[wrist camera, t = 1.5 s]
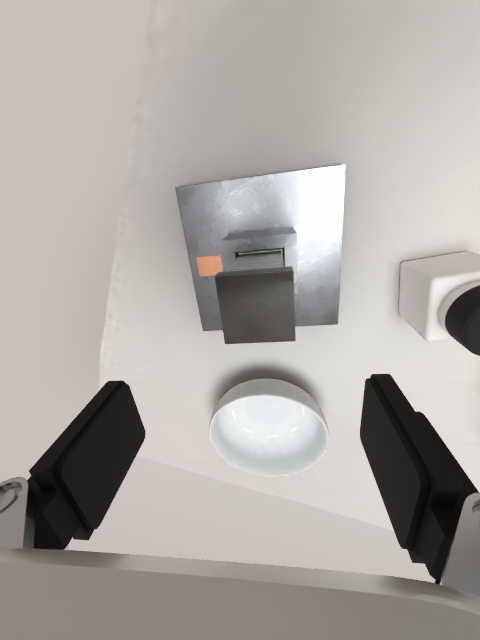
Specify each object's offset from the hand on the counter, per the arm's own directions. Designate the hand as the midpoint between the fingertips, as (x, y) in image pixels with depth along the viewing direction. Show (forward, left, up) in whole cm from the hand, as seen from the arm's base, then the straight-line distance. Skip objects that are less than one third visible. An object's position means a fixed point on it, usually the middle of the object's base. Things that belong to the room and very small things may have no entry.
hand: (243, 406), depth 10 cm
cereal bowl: (+24, -1, -26) cm, 35 cm away
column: (0, 0, -23) cm, 23 cm away
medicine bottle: (+5, +20, -25) cm, 33 cm away
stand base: (0, 0, -25) cm, 25 cm away
